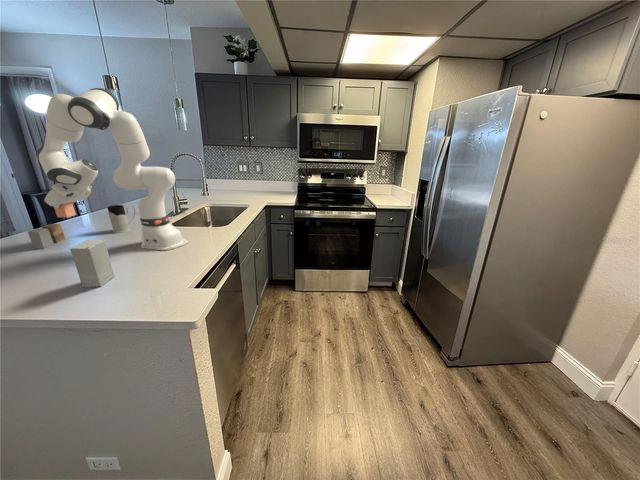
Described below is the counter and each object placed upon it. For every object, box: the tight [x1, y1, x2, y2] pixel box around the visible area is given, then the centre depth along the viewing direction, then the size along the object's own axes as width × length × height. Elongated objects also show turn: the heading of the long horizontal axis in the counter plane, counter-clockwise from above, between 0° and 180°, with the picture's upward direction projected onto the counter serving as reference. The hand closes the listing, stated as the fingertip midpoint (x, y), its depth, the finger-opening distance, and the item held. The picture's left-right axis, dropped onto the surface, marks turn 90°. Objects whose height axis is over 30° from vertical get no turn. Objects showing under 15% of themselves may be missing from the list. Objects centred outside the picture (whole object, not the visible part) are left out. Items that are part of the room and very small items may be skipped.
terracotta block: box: [53, 202, 77, 218], centre depth 132 cm, size 5×5×9 cm
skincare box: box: [69, 239, 115, 288], centre depth 94 cm, size 8×7×16 cm
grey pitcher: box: [107, 204, 137, 234], centre depth 154 cm, size 9×14×15 cm, turn 152°
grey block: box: [27, 227, 55, 250], centre depth 128 cm, size 5×5×9 cm
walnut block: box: [41, 223, 67, 244], centre depth 136 cm, size 5×5×9 cm
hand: (62, 206), depth 132 cm, fingers closed on terracotta block, 5 cm apart
